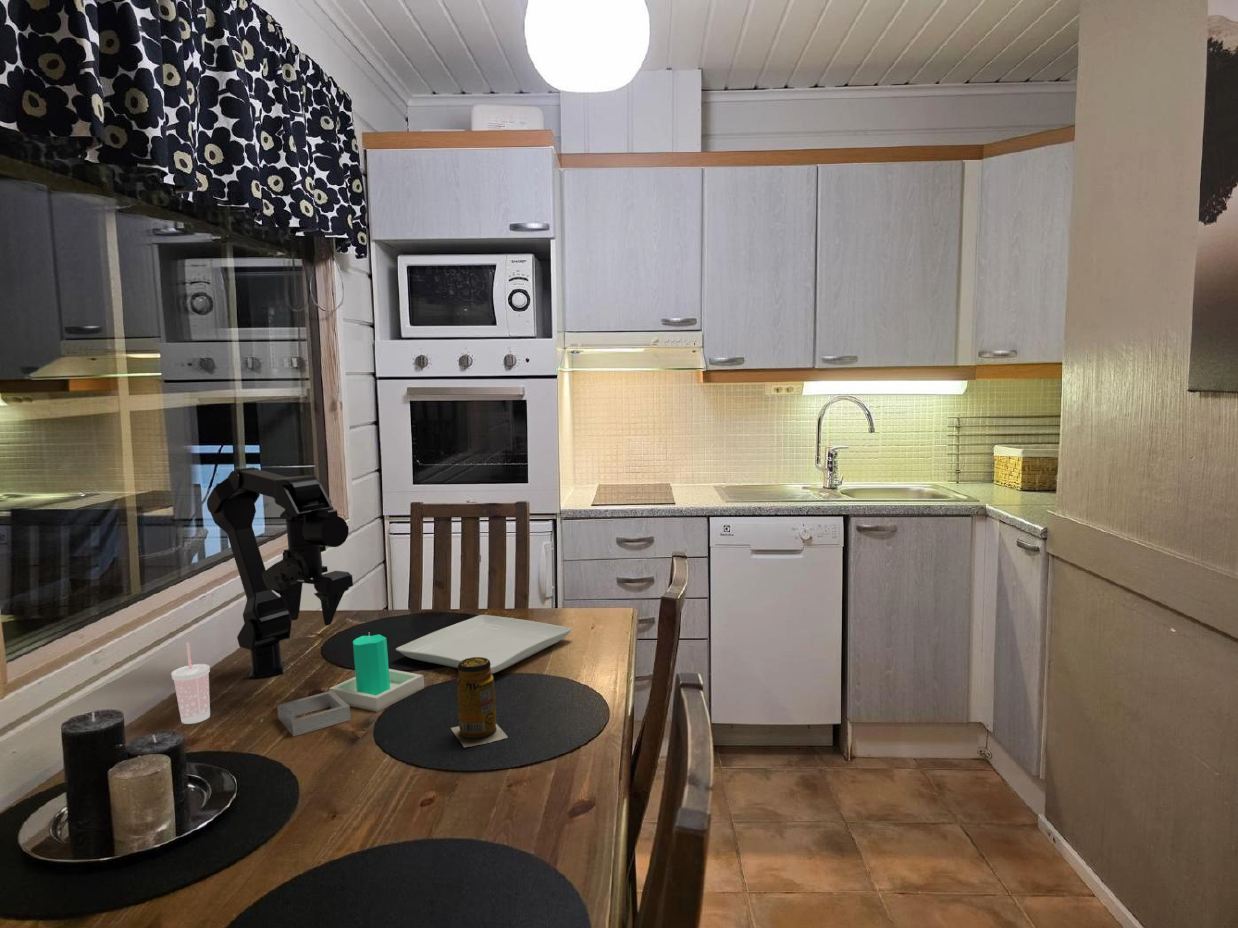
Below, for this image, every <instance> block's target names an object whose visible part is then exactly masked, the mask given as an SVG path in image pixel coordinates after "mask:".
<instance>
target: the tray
mask: <svg viewBox="0 0 1238 928" xmlns="http://www.w3.org/2000/svg"><path fill="white" fill-rule="evenodd" d="M389 678H390V689H389V690H387V691H385V692H383V693H381V694H378V695H372V694H367V693H362V692H357V687H356V676H354V677H352V678H349V679H347V680H345V681H342V682H341V683H338V684H335V685H334V686H332V687H331V686H330V687H329V688H328V692H329V691H333V692H334V693H336V694H337V695H338V696H339V697H340V698H341V699H342V700H343V701H344V702H346V703H347V704H348V705H349V706H350V707H354V708H359V709H362V710H367V711H371V712H375V713H377V712H381V711H382V710H383V709H386V708H388V707H390V706H392V705H393V704H396V703H397V702H399V701H400V702H401V700H403V699H405V698H407V697H409V696H412V695H413V694H415V693H417V692H419V691H421V690H423V689H425V680H424V679H425V676H424V674H419V673H413V672H409V671H403V670H397V669H392V668H389Z"/></svg>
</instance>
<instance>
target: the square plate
mask: <svg viewBox="0 0 1238 928" xmlns="http://www.w3.org/2000/svg"><path fill="white" fill-rule="evenodd" d="M572 630H573V627H569V626H563V625H556V624H552V623H551V624H550V623H546V622H540V621H534V620H527V619H520V618H513V617H505V616H497V615H487V614H479V615H476V616H473V617H471V618H469V619H466V620H463V621H460V622H457V623H455V624H452V625H449V626H446V627H443V628H441V629H438V630H435V631H433V632H430V633H428V634H426V635H423V636H421V637H419V638H416V639H414V640H411V641H409V642H407V643H404V644H403V645H400V646H398V647H396V648H395V651H397V652H399V653H400V654H402V655H403V656H405V657H407V658H410V659H413V660H417V661H421V662H425V663H432V664H436V665H442V666H445V667H450V668H451V667H452V668H455V669H458V665H459V663H460V662H461V661H462V660H464V659H467V658H472V657H483V658H487V659H488V660H489V661H490V664H491V665H490V668H491V675H493V674H495V673H498V672H500V671H504V670H505V669H507V668H510V667H511V666H513V665H515V664H517V663H519V662H521V661H523V660H525V659H526V658H529V657H531V656H533V655H535V654H536V653H539V652H541V651H543V650H544V649H547V648H548V647H550V646H552V645H555V644H556V643H558V642H560V641H562V640H563V639H565V638H566V637H567V636H568V635H569V634H570V632H571V631H572Z"/></svg>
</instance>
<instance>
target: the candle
mask: <svg viewBox="0 0 1238 928" xmlns="http://www.w3.org/2000/svg"><path fill="white" fill-rule="evenodd" d="M352 649H353V660H354V661H353V662H354V671H355V672H354V674H355V677H356V687H357V692H362V693H367V694H372V695H378V694H381V693H383V692H385V691H387V690H389V689H390V678H389V669H390V668H389V666H390V665H389V656H388V654H389V653H388V642H387V637H385V636H383V635H381V634H374V635H371V634H370V633H368V635H361V636H359V637H357V638H355V639H354V640H353V641H352Z"/></svg>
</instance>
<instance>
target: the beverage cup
mask: <svg viewBox="0 0 1238 928" xmlns="http://www.w3.org/2000/svg"><path fill="white" fill-rule="evenodd" d="M185 646H186V652H187V662H188V663H187V664H188V665H185V666H181V667H179V668H176V669H174V670H172V671H171V673H170V674H171V679H172V680H173V682H174V688H175V694H176V698H177V699H176V700H177V705H178V711H179V717H180V720H181V721H180V722H181V723H182V724H185V725H190V724H197V723H201V722H204V721H206V720H208V719H209V718H210V716H211V707H210V706H211V705H210V703H211V702H210V676H209V674H210V672H211V666H210V664H206V663H195V664H192V657H191V656H192V655H191V647H190V642H189V641H186V645H185Z"/></svg>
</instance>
